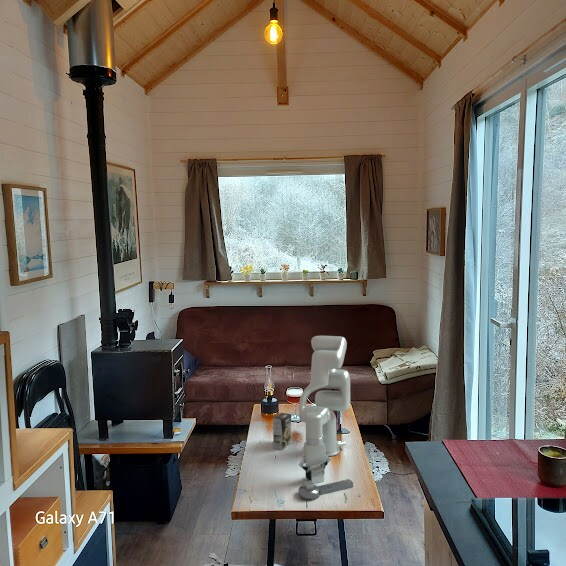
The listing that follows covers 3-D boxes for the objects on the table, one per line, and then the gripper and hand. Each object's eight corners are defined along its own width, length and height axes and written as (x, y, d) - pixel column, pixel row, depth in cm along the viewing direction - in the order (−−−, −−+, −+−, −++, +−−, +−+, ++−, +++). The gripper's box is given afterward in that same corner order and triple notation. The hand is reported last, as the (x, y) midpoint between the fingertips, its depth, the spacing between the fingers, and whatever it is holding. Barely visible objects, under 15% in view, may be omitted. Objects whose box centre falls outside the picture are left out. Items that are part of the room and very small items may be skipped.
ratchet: (346, 480, 239) (346, 468, 239) (356, 489, 231) (356, 477, 230) (295, 492, 230) (295, 480, 230) (303, 502, 222) (303, 490, 221)
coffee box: (283, 450, 272) (283, 419, 270) (273, 447, 276) (272, 417, 274) (292, 443, 280) (291, 413, 278) (281, 441, 283) (281, 412, 281)
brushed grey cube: (318, 475, 245) (318, 463, 244) (324, 481, 239) (323, 468, 238) (306, 478, 243) (306, 465, 242) (311, 484, 237) (311, 471, 236)
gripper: (327, 433, 245) (328, 470, 247) (293, 440, 239) (294, 477, 241) (335, 439, 238) (335, 477, 240) (300, 446, 232) (301, 485, 234)
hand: (315, 477), depth 241 cm, fingers closed on brushed grey cube, 6 cm apart
